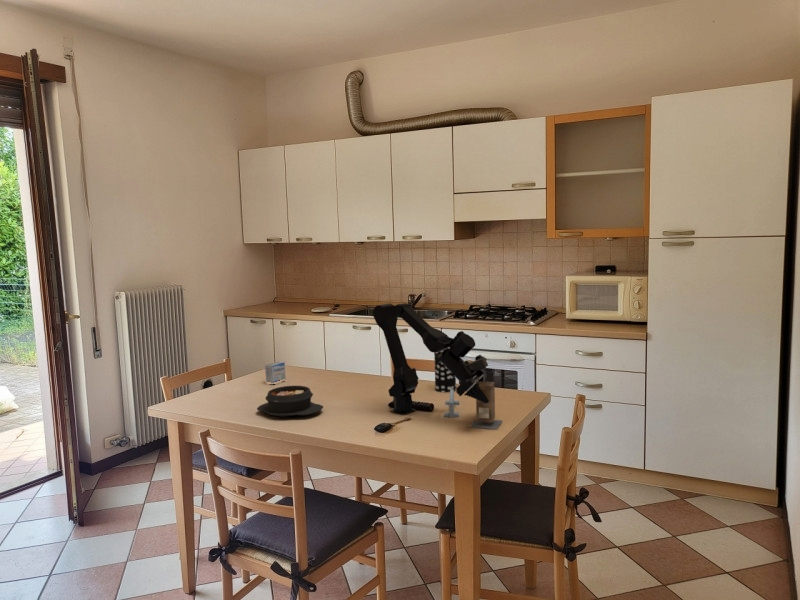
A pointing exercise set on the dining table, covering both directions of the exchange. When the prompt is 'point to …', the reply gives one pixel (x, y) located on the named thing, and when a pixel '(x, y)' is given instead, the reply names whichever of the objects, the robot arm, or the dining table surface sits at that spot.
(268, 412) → the casserole
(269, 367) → the medicine box
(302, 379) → the dining table surface
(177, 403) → the dining table surface
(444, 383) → the spotted tube
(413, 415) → the dining table surface
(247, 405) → the dining table surface
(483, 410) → the walnut block
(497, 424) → the mat
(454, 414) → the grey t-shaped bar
